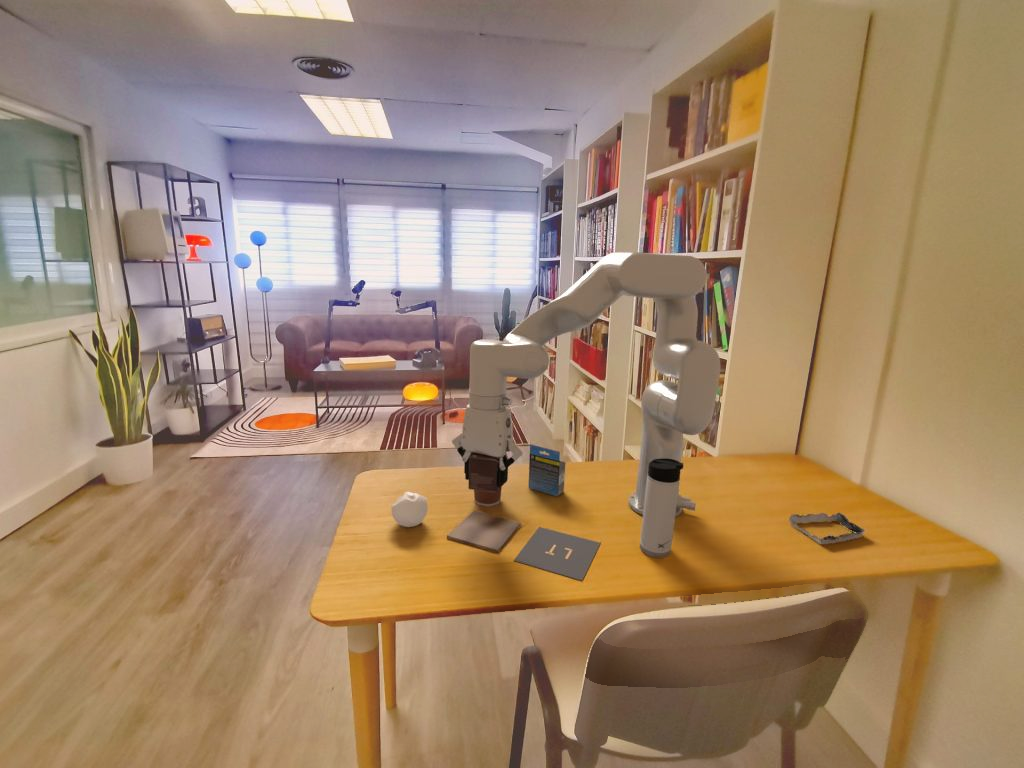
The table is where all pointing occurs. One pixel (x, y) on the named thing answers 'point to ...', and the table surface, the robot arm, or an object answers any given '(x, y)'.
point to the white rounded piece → (409, 509)
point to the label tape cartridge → (546, 471)
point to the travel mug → (660, 507)
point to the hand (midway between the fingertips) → (485, 480)
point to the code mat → (558, 553)
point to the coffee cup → (487, 497)
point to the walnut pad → (484, 531)
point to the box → (483, 472)
